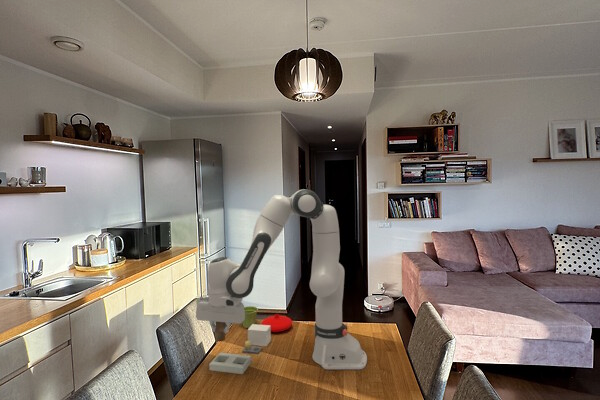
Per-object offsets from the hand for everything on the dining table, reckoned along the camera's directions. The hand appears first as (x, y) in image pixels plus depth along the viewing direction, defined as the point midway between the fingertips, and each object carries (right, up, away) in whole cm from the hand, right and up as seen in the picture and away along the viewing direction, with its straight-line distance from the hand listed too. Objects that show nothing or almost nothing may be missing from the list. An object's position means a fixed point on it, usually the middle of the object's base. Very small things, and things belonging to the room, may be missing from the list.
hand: (220, 331), depth 130 cm
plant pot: (+6, -12, +37) cm, 40 cm away
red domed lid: (+20, -12, +34) cm, 41 cm away
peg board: (+4, -14, 0) cm, 14 cm away
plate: (+11, -13, +11) cm, 21 cm away
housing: (+13, -13, +19) cm, 26 cm away
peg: (0, -3, 0) cm, 3 cm away
